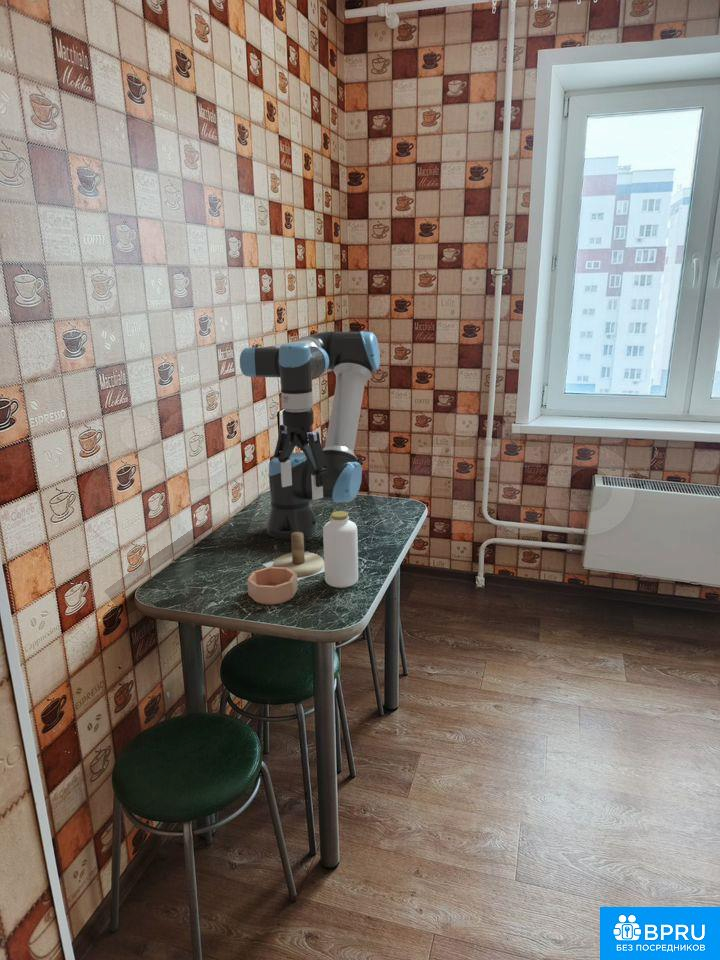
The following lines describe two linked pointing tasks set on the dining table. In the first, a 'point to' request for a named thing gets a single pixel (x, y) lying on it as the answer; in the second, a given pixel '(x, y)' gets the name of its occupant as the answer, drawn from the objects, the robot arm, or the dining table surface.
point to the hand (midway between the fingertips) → (301, 492)
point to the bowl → (272, 585)
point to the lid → (300, 558)
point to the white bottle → (340, 551)
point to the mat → (271, 564)
